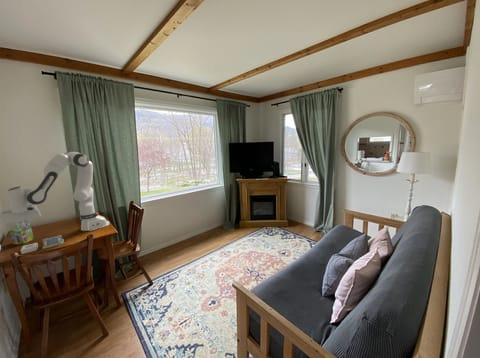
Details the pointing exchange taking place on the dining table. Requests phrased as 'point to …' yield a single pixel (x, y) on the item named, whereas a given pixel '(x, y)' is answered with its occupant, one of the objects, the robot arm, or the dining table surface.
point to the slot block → (29, 248)
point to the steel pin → (23, 225)
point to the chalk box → (21, 235)
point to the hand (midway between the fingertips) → (24, 226)
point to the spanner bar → (52, 240)
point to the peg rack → (53, 244)
